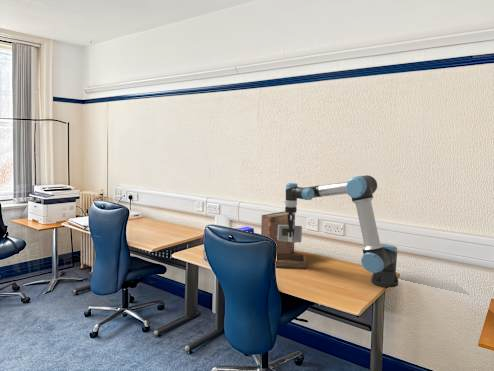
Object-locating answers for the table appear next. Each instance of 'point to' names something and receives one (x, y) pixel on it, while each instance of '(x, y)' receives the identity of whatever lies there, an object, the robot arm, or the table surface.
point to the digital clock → (284, 234)
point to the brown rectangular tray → (291, 261)
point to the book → (271, 230)
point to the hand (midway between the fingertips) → (289, 240)
